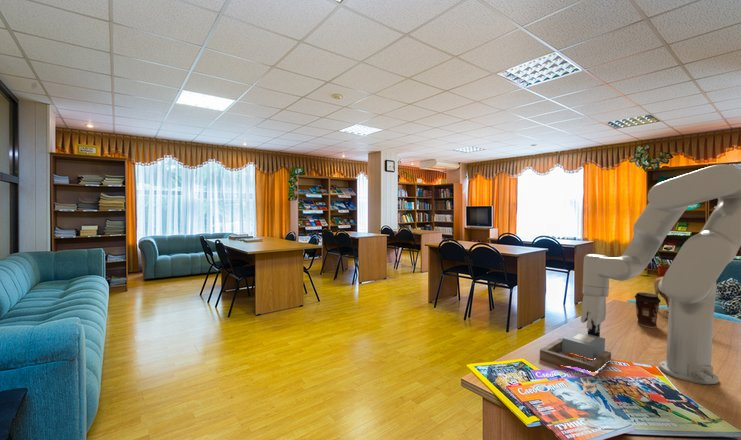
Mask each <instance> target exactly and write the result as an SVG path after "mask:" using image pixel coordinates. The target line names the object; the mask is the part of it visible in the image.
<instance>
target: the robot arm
mask: <svg viewBox="0 0 741 440" xmlns="http://www.w3.org/2000/svg"><path fill="white" fill-rule="evenodd" d="M716 199H717V205H716V207H715V208H714V210H713V211H712V212H711V213H710V215H709V217H708V219H707V221H706V222H705V224H704V226H703V227H702V229H701V230H700V231H699V233H697V234H694V235H692V236H690V237H688V239H687V240H686V241H685V242H684V243H683V244H682V246H681V247H680V249H679V251H678V253H676V256H675V257H674V259H673V260H672V262H671V264H669V266H668V269H667V270H666V271H665V274H664V275H663V276H662V277H663V280H662V288H663V290H664V292H665V293H666V295H667V296H668V297H669V298H670V302H669V313H668V315H667V316H668V318H667V339H666V340H667V342H666V360H663V361H660V362H659V367H658V368H660V370H661V371H662V372H663V373H665V374H667V375H669V376H672V377H674V378H676V379H679V380H682V381H686V382H689V383H690V382H691V383H695V384H701V385H715V384H718V382H719V379H720V378H719V376H718V375H717V374H716V373H715V372H713V371H714V366H712V355H713V354H712V351H713V335H714V332H713V331H714V318H715V315H714V314H715V305H716V298H717V297H716V296H717V280H718V278H720V276H721V275H722V273H723V271H724V270H725V268H726V267H727V266H728V265H729V263H731V262H732V261H733V260H734V259H735V258H736V256H737V254H738V252H739V249H740V248H741V168H739V167H737V166H735V165H732V164H727V163H724V164H723V163H721V164H720V163H719V164H714V165H710V166H707V167H704V168H700V169H698V170H694V171H691V172H689V173H685V174H682V175H678V176H676V177H673V178H669V179H667V180H664V181H661V182H658V183H656V184H655V185H653V186H651V188H650V189H649V190H648V193H647V201H648V203H647V205H646V207H644V209H643V210H642V212H641V214H640V215H639V216H638V217H637V219H636V220H635V222H634V224H633V228H632V230H633V236H632V238H631V241H630V243H629V245H628V246H627V247H626V249H625V251H624V252H623V254H622V255H621V256H617V257H615V256H614V257H609V256H607V255H604V254H600V253H599V254H597V253H589V254H585V256H583V267H582V268H583V269H582V270H583V271H582V294H583V296H582V297H583V298H582V301H581V302H582V303H581V312H580V322H581V323H583V324H584V323H586V329H587V334H590V335H593V336H597V337H601V336H600V335H601V332H600V331H601V327H602V326H601V324H602V323H603V322H605V321H606V315H607V314H606V313H607V298H608V297H609V294H610V292H609V291H610V290H609V287H610V279H611V280H613V281H614V280H615V281H618V282H619V281H621V282H622V281H623V282H625V281H628V280H630V279H633V278H636V277H638V276H640V275H641V274H642V273H643V272H644V271H645V269H646V267H648V266H649V264H650V263H651V261H652V259H654V257H655V256H656V253H657V252H658V250H659V248H660V247H661V246H662V245H663V243H664V240H665V239H666V238H667V235H668V234H669V233H670V232H671V230H672V229H673V228H674V226H675V224H676V223H678V221H679V220H680V218H681V217H682V215H683V214H684V212H685V211H686V210H687V209H688V207H689V206H692V205H697V204H700V203H705V202H708V201H712V200H716Z"/></svg>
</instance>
